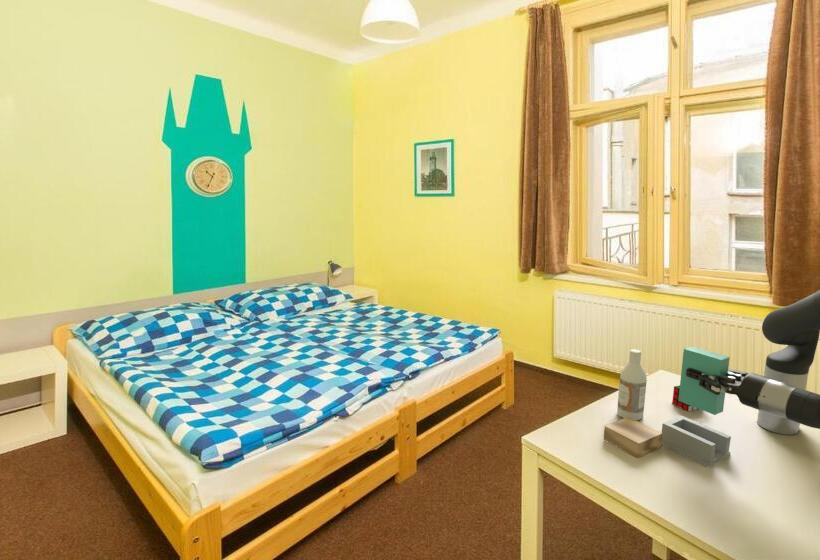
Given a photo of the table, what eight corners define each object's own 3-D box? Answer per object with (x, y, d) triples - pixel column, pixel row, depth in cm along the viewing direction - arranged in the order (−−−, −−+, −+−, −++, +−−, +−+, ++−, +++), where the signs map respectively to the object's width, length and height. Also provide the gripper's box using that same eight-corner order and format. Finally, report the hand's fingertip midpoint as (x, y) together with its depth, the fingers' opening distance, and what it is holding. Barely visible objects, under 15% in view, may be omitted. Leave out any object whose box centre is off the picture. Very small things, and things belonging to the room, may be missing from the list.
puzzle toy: (671, 403, 147) (673, 386, 145) (686, 400, 148) (688, 383, 147) (687, 411, 141) (689, 394, 140) (702, 408, 143) (704, 391, 142)
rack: (679, 432, 130) (681, 413, 129) (730, 455, 119) (732, 435, 118) (656, 442, 125) (658, 423, 124) (707, 467, 114) (710, 446, 113)
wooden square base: (626, 430, 131) (627, 416, 130) (660, 447, 123) (662, 433, 122) (603, 439, 127) (604, 425, 126) (637, 458, 118) (638, 443, 117)
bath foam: (611, 411, 142) (617, 348, 138) (631, 408, 144) (636, 345, 140) (628, 422, 135) (634, 356, 131) (648, 419, 137) (654, 353, 133)
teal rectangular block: (686, 397, 123) (692, 346, 121) (722, 411, 116) (729, 357, 113) (678, 400, 122) (683, 348, 119) (714, 415, 114) (721, 359, 111)
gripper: (787, 373, 107) (709, 350, 122) (754, 386, 101) (676, 361, 115) (783, 404, 109) (706, 378, 124) (750, 419, 102) (673, 390, 117)
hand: (692, 370), depth 119 cm, fingers closed on teal rectangular block, 3 cm apart
